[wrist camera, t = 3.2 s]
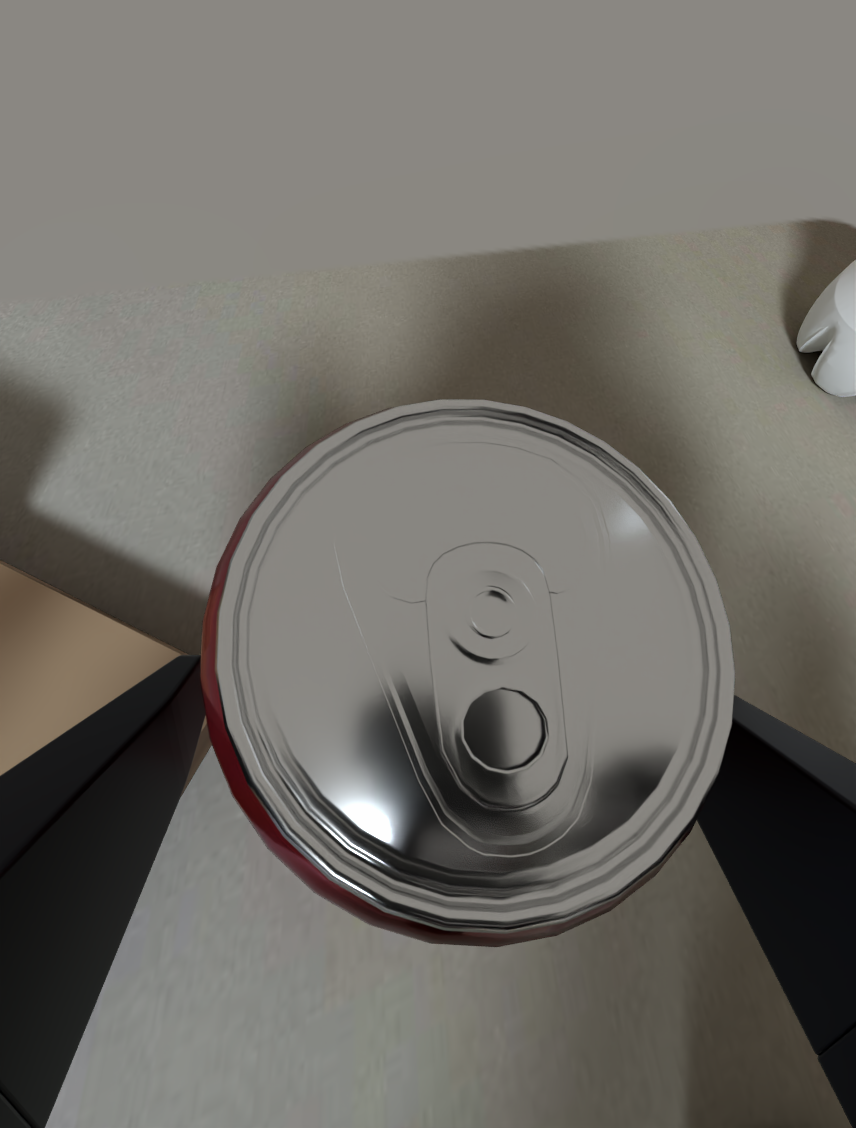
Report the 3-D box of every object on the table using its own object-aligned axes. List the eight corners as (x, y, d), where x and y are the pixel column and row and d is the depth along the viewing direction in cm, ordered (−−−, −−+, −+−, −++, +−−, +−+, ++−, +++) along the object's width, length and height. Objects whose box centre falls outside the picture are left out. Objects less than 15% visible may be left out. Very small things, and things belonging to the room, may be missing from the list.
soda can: (312, 583, 18) (225, 352, 6) (497, 589, 19) (707, 397, 7) (296, 792, 15) (117, 1007, 4) (507, 788, 16) (828, 953, 5)
